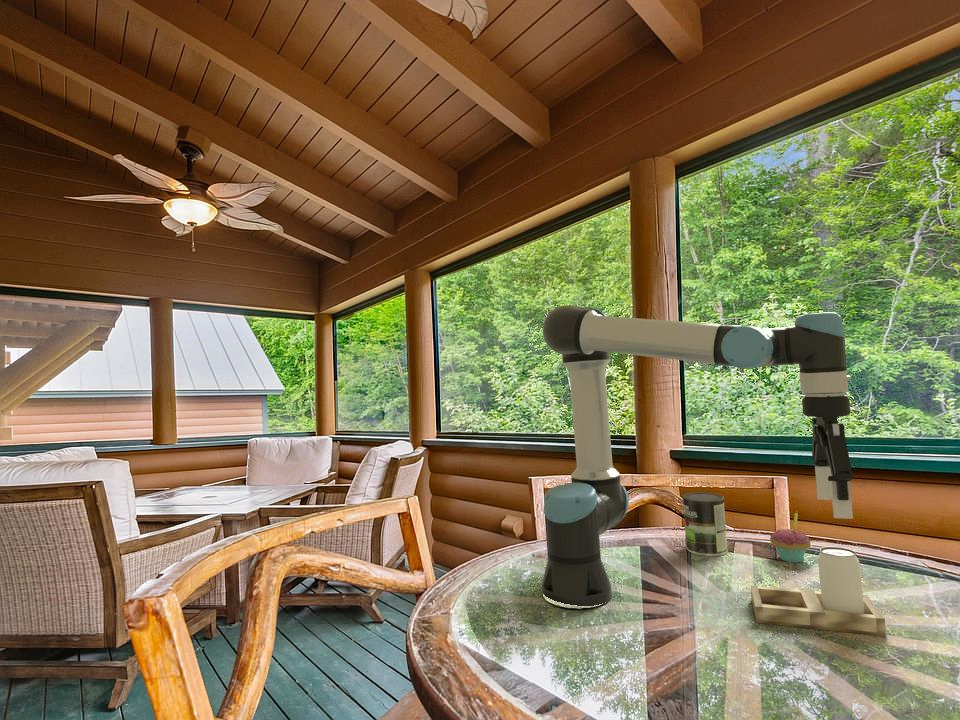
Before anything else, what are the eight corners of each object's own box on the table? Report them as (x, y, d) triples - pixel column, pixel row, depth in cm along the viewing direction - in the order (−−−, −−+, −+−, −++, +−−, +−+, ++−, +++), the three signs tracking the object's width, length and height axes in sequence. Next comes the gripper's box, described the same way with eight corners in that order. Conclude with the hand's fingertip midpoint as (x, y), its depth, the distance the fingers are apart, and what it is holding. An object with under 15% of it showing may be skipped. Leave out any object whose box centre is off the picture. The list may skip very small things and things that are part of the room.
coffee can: (698, 558, 133) (694, 502, 133) (679, 545, 143) (675, 494, 143) (736, 554, 134) (732, 499, 134) (714, 542, 144) (710, 490, 144)
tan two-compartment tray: (756, 622, 98) (755, 606, 98) (751, 600, 108) (750, 585, 108) (886, 636, 91) (884, 618, 91) (868, 611, 100) (867, 595, 100)
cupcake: (812, 556, 130) (807, 507, 130) (812, 567, 122) (807, 515, 123) (772, 551, 134) (768, 504, 135) (770, 562, 127) (766, 512, 127)
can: (873, 624, 93) (866, 556, 94) (833, 624, 95) (826, 556, 95) (853, 609, 100) (847, 545, 101) (816, 609, 101) (810, 546, 102)
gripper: (868, 397, 86) (879, 528, 85) (832, 390, 109) (841, 493, 108) (815, 399, 89) (825, 525, 88) (791, 392, 112) (799, 492, 111)
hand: (834, 508), depth 98 cm, fingers open, 13 cm apart
